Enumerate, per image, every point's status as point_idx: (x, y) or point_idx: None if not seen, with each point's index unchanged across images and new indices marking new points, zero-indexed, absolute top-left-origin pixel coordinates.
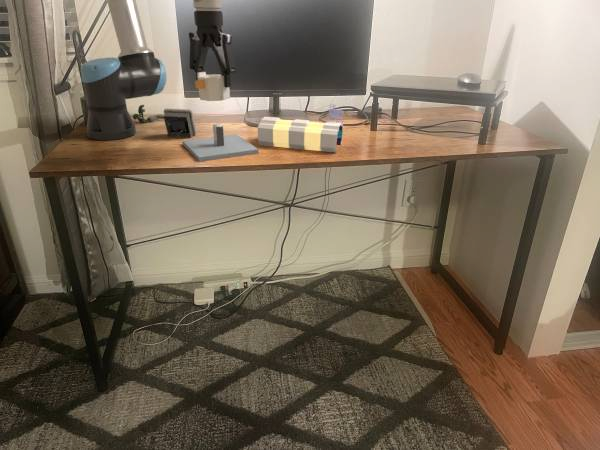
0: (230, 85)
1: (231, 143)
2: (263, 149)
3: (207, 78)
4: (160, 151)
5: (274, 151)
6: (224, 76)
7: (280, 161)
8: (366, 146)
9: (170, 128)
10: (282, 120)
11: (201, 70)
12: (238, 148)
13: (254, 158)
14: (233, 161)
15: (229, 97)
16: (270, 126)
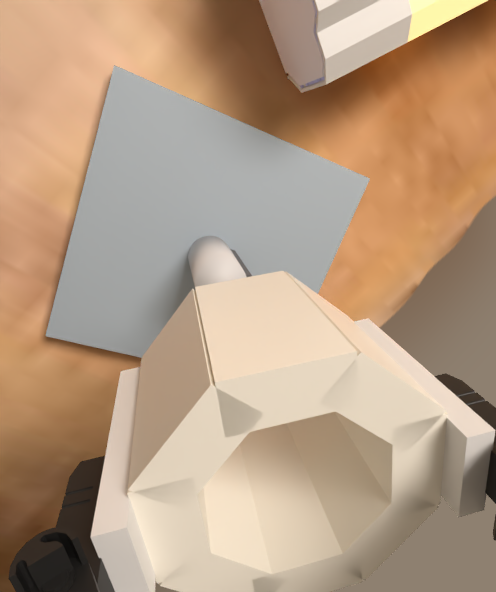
0: (458, 382)
1: (230, 205)
2: (347, 122)
3: (354, 573)
4: (83, 424)
5: (398, 109)
6: (489, 482)
7: (474, 187)
8: None
9: None
10: None
11: (101, 586)
12: (303, 230)
13: (386, 231)
14: (351, 302)
15: (372, 326)
16: (392, 34)
